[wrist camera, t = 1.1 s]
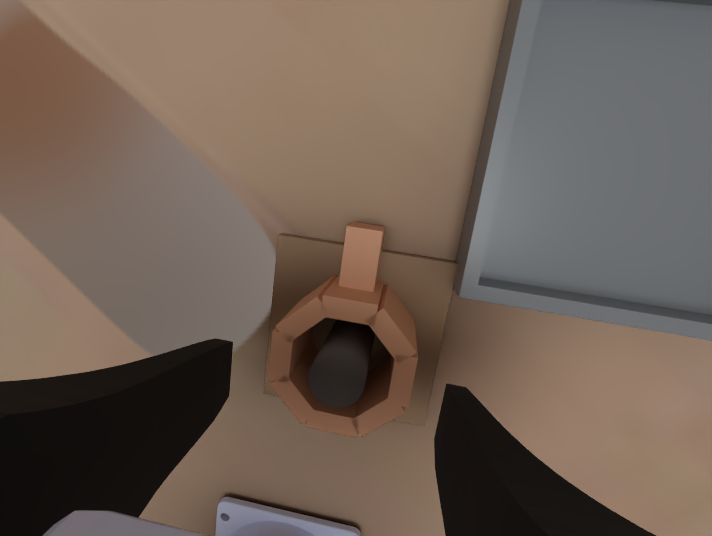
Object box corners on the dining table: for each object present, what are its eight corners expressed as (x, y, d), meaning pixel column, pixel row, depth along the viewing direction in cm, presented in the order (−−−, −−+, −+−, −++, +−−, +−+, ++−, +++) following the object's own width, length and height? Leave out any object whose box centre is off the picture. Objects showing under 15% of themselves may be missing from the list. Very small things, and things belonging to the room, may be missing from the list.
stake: (423, 418, 18) (430, 503, 13) (267, 387, 19) (219, 455, 14) (455, 261, 16) (478, 291, 11) (282, 233, 17) (233, 249, 12)
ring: (401, 396, 17) (400, 447, 14) (291, 374, 18) (264, 418, 14) (432, 233, 15) (440, 245, 12) (309, 214, 16) (283, 220, 13)
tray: (740, 331, 15) (798, 355, 13) (451, 283, 16) (458, 297, 14) (869, 9, 13) (970, -30, 10) (514, -21, 14) (535, -63, 12)
